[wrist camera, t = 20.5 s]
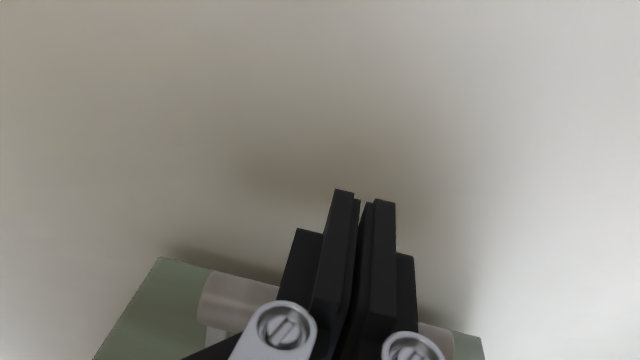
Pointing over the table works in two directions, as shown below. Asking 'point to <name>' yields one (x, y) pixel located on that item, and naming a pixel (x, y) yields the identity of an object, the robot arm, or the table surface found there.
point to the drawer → (214, 316)
